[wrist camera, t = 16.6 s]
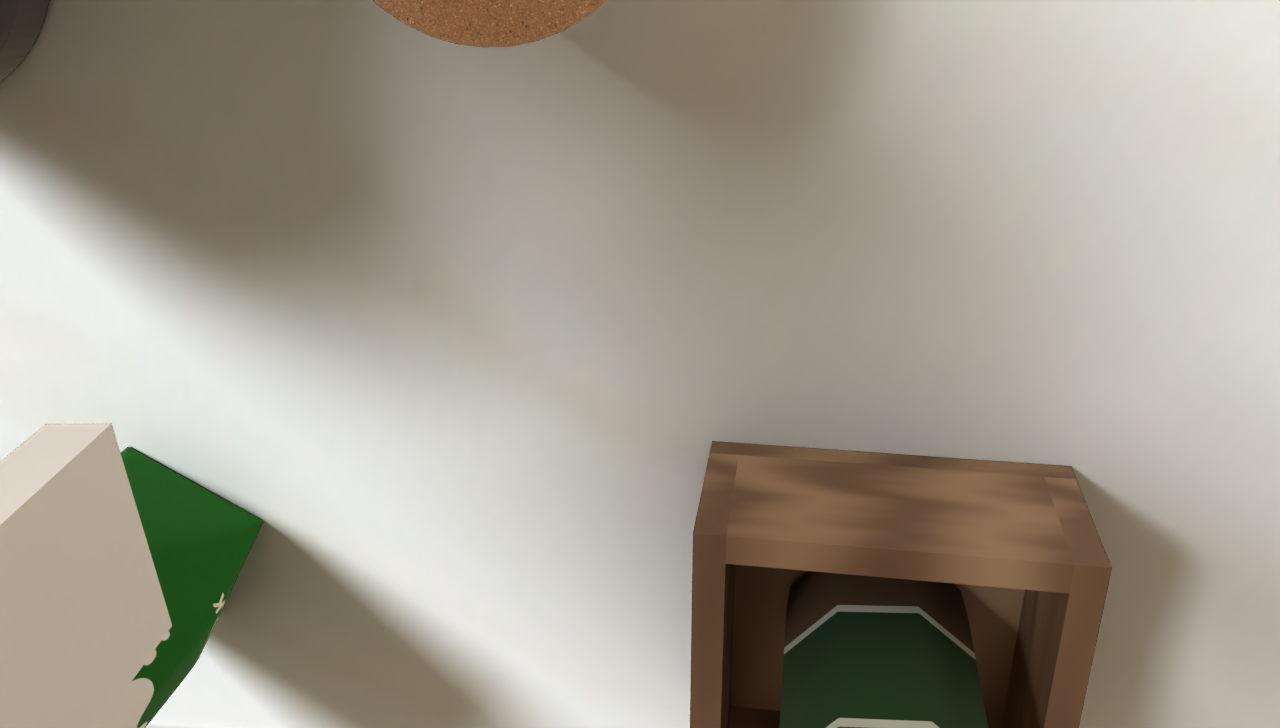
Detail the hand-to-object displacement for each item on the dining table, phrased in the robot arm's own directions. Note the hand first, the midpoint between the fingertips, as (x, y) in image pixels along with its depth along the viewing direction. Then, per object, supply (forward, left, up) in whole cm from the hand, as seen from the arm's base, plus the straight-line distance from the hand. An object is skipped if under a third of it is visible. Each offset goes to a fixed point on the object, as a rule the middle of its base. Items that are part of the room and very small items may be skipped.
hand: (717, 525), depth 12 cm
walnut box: (+4, -23, -30) cm, 38 cm away
